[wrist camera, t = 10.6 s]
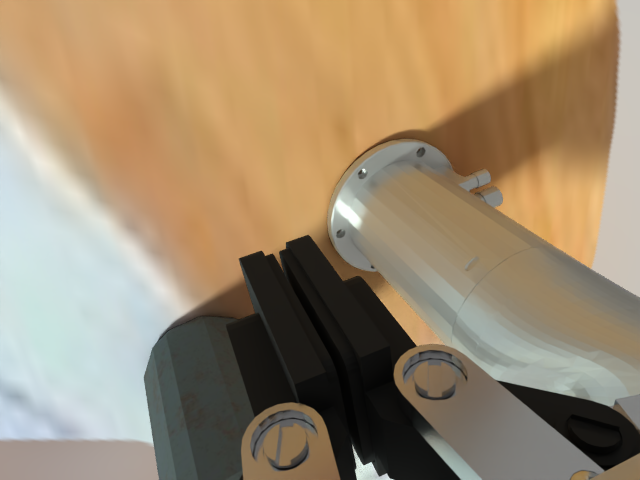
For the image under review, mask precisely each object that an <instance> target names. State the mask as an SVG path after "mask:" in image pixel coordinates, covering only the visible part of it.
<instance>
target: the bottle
mask: <svg viewBox="0 0 640 480" xmlns="http://www.w3.org/2000/svg"><path fill="white" fill-rule="evenodd" d="M236 320H238V319H235V318H227V317H210V316H200V317H198V318H195V319H193V320H191V321H189V322H186V323H184V324H182V325H180V326H178V327H175V328H173V329H171V330H169V331H168V332H167V333H166V334H165V335H164V336H163V337H162V338H161V339H160V340H159V341H158V342H157V343H156V344H155V346H154V347H153V348H152V352H151V355H150V359H149V362H148V365H147V369H146V372H145V375H144V382H145V389H146V396H147V402H148V409H149V416H150V422H151V429H152V436H153V442H154V449H155V456H156V462H157V469H158V475H159V480H239V479H240V477H241V475H242V474H243V469H242V457H241V446H242V438H243V436H244V434H245V431H246V429H247V427H248V426H249V425H250V423H251V422H252V421H253V420H254V418H255V417H254V413H253V410H252V407H251V404H250V401H249V398H248V395H247V391H246V388H245V385H244V382H243V379H242V376H241V373H240V369H239V366H238V363H237V360H236V357H235V354H234V350H233V347H232V344H231V341H230V338H229V335H228V332H227V328H226V324H228V323H231V322H234V321H236Z"/></svg>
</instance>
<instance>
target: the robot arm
mask: <svg viewBox="0 0 640 480" xmlns="http://www.w3.org/2000/svg"><path fill="white" fill-rule="evenodd" d="M490 181H491V177H490V174H489V172H488V171H487V170H486V169H481V170H479V171H476V172H474V173H471V174H470V175H468V176H466V177H464V176H462V175H459V174H457V173H455V172H454V171H453V168H452V165H451V163H450V162H449V160H448V159H447V157H446V156H445V155H444V154H443V153H442V152H441V151H439V150H438V149H437V148H435V147H434V146H432V145H430V144H428V143H426V142H423V141H420V140H417V139H398V140H391V141H389V142H386V143H383V144H380V145H378V146H376V147H374V148H373V149H371V150H369V151H367V152H366V153H365V154H363V155H362V156H361V157H360V158H359V159H357V160H356V161H355V162H354V163H353V164H352V165H351V166H350V167H349V169H348V170H347V171H346V172H345V173H344V175H343V176H342V178H341V179H340V181H339V182H338V184H337V186H336V188H335V190H334V193H333V195H332V197H331V200H330V204H329V208H328V216H327V227H328V234H329V237H330V240H331V242H332V245H333V246H334V248H335V249H336V251H337V252H338V254H339V255H340V256H341V257H342V258H343V259H344V260H345V261H346V262H347V263H349V264H350V265H352V266H353V267H356V268H358V269H361V270H364V271H371V272H376V271H378V272H379V273H380V274H381V275H382V276H383V277H384V278H385V279H386V281H387V282H388V283H389V284H390V285H391V286H392V287H393V288H394V289H395V290H396V292H397V293H398V294H399V295H400V296H401V297H402V298H403V299H404V300H405V301H406V303H407V304H408V305H409V306H410V307H411V308H412V309H413V310H414V311H415V312H416V313H417V315H418V316H419V317H420V318H421V319H422V320H423V321H424V322H425V323H426V324H427V326H428V327H429V328H430V329H431V330H432V331H433V332H434V333H435V334H436V335H437V337H438V338H439V339H440V340H441V341H442V342H443V343H444V344H445V345H446V346H445V345H439V344H427V345H420V346H416V345H415V343H414V342H413V341H412V340H411V338H410V337H409V336H408V335H407V333H406V332H405V331H404V330H403V328H402V327H401V326H400V325H399V323H398V322H397V321H396V320H395V318H394V317H393V316H392V314H391V313H390V312H389V311H388V309H387V308H386V307H385V306H384V304H383V303H382V302H381V301H380V299H379V298H378V297H377V296H376V294H375V293H374V292H373V291H372V289H371V288H370V287H369V286H368V284H367V283H366V282H365V281H364V280H363V279H362V278H361V277H360V276H356V277H353V278H351V279H348V280H345V281H342V279H341V278H340V277H339V275H338V274H337V272H336V271H335V270H334V268H333V267H332V266H331V264H330V263H329V262H328V260H327V259H326V257H325V256H324V255H323V253H322V252H321V251H320V249H319V248H318V246H317V245H316V244H315V242H314V241H313V240H312V238H311V237H310V236H309V235H307V236H304V237H301V238H298V239H295V240H292V241H289V242H286V249H285V250H282V251H280V252H279V254H280V259H281V263H282V267H283V271H284V272H283V271H282V269H281V267H280V265H279V263H278V262H277V260H276V258H275V256H274V255H273V254H270V255H267V256H265V255H264V253H263V252H262V251H259V252H256V253H253V254H250V255H248V256H245V257H242V258H239V261H240V265H241V268H242V271H243V275H244V278H245V281H246V285H247V288H248V291H249V294H250V298H251V301H252V304H253V307H254V311H255V314H253V315H250V316H247V317H245V318H242V319H239V320H236V321H234V322H231V323H228V324H226V328H227V332H228V335H229V338H230V341H231V344H232V347H233V350H234V354H235V357H236V360H237V363H238V366H239V369H240V373H241V376H242V379H243V382H244V385H245V388H246V391H247V395H248V398H249V401H250V404H251V407H252V410H253V413H254V417H255V418H254V420H253V421H252V422H251V423H250V425H249V426H248V427H247V429H246V431H245V434H244V436H243V438H242V446H241V457H242V469H243V474H242V475H241V477H240V479H239V480H357V478H356V473H355V469H356V463H355V458H354V453H353V448H352V445H353V447H354V449H355V451H356V453H357V455H358V457H359V459H360V461H361V462H362V464H363V465H366V464H368V463H370V462H372V464H373V466H374V468H375V470H376V471H377V473H378V475H379V476H382V475H384V474H386V473H387V474H388V476H389V478H391V479H394V480H640V297H638V296H636V295H634V294H632V293H631V292H629V291H627V290H625V289H624V288H622V287H620V286H619V285H617V284H615V283H614V282H612V281H610V280H609V279H607V278H605V277H604V276H602V275H600V274H599V273H596V272H595V271H593V270H592V269H590V268H589V267H587V266H585V265H584V264H582V263H581V262H579V261H577V260H576V259H574V258H573V257H571V256H569V255H568V254H566V253H565V252H563V251H562V250H560V249H558V248H556V247H555V246H553V245H552V244H550V243H548V242H547V241H545V240H544V239H542V238H541V237H539V236H537V235H536V234H534V233H533V232H531V231H530V230H528V229H526V228H525V227H523V226H522V225H520V224H519V223H517V222H516V221H514V220H512V219H511V218H509V217H508V216H506V215H505V214H503V213H501V212H500V211H498V210H497V209H495V208H496V207H498V206H500V205H501V204H502V202H503V197H502V194H501V192H500V190H499V189H498V188H497V187H495V186H491V187H489V188H487V189H484V190H482V191H479V192H477V193H475V194H474V195H473V194H472V193H470V190H471V189H474V188H478V187H481V186H483V185H486V184H488V183H490Z"/></svg>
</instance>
